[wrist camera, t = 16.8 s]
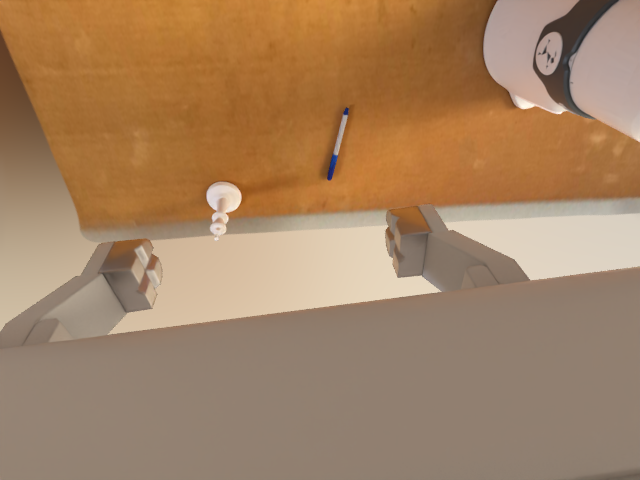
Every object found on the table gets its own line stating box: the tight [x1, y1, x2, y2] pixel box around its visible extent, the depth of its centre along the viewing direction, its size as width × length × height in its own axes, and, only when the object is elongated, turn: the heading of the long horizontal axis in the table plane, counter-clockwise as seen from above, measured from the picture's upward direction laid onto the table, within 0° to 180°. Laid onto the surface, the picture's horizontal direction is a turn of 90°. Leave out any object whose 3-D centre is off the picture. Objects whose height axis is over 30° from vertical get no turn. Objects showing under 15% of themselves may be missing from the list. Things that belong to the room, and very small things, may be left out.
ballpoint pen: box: [327, 108, 349, 180], centre depth 50 cm, size 10×1×1 cm, turn 170°
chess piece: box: [207, 182, 242, 241], centre depth 50 cm, size 5×5×10 cm
